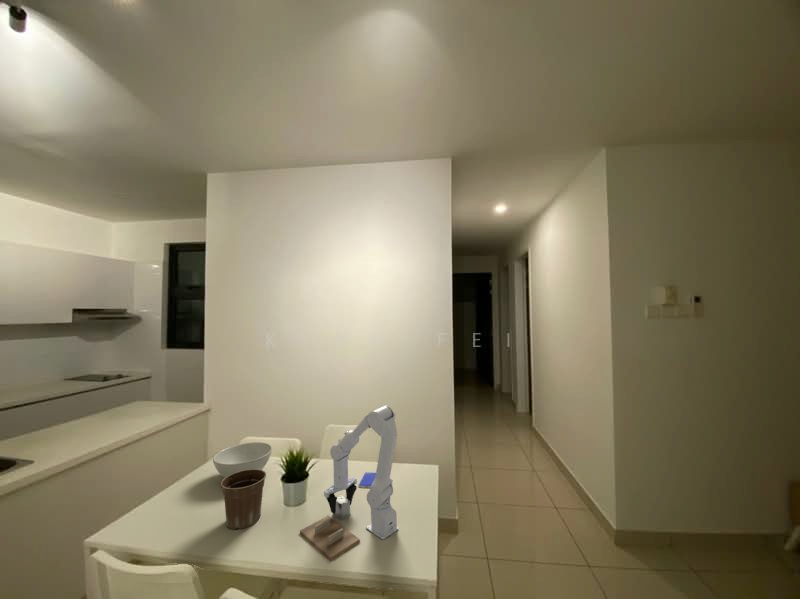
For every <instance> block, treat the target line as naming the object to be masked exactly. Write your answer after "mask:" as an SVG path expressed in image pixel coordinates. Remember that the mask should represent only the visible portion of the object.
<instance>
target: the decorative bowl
mask: <svg viewBox="0 0 800 599" xmlns="http://www.w3.org/2000/svg"><path fill="white" fill-rule="evenodd" d="M272 451H273V447H272V445H270V444H269V443H266V442H258V441H257V442H255V441H254V442H253V441H252V442H244V443H239V444H235V445H232V446H229V447H226V448H224V449H222V450H220V451H219V452H217V453H216V454H215V455H214V456H213V457H212V462H213V465H214V467H215V468H214V469H216V471H217V472H218V473H219V474H220V476H222V478H223V479H224V478H226V477H227V476H229V475H231V474H233V473H236V472H239V471H243V470H248V469H259V470H263V469H264V468H265V466H266V465H267V463H268V462H269V460H270V457H271V455H272Z"/></svg>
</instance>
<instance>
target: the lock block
mask: <svg viewBox="0 0 800 599" xmlns="http://www.w3.org/2000/svg"><path fill="white" fill-rule="evenodd" d="M336 497H337V500H336V512H335V514H333V516H335V517H336V518H338V519H340V521H343V520H345V519H347V518H348V517H350V516H351V505H350V500H349V499H347V498H346V496H344V495H342V494H340V495H337V496H336Z"/></svg>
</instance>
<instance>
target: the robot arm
mask: <svg viewBox="0 0 800 599" xmlns="http://www.w3.org/2000/svg"><path fill="white" fill-rule="evenodd" d="M395 419H396V414H395V412H394V411H393V409H392V408H391V407H390V405H381V407H379V408H377V409H374V410H372V411H370V412H369V413H368V414H366V415H365V416H364V417H363V419H362V420H361V421H360V422H359V423H358V424H357V426H356V427H355V428H354V429H353V430H347V431H346V432H344V436H343V437H341V438H339V439H338V440H337V441H338V443H337V444H332V446H331V448H330V452H329V454H330V456H331V458H332V460H333V462H332V463H333V484H332V485H331V486H329V487H328V488H327V489H326V490H324V491H323V496H324V497H325V499H326V500H327V503H328V505H329V507H330V508H329V509H330V512H331V513H332V514H333V515H334V514H335V512H336V500H337V496H336V495H335V493H339V492H341V491H345V495H346V496H345V497H346V498H347V499H349V500H350V506H352V503H353V498H354V495H355V493H356V490H357V488H358V485H357V484H358V479H357V478H356V477H351V478H349V461H348V460H349V458H350V457H349V456H350V454H351V452H352V450H353V448H354V447H356V446H357V445H358V443H359V442H360V437H361V436H362V435H363V434H364V433H365V432H366V431H367V430H368V429H372V431H374V432H375V433H376V434H377V435H378V436H379V437H381V441H380V442H381V443H380V446H379V453H378V459H377V465H376V470H375V471H376V472H375V473H376V476H375V479H374V481H373V483H372V485H371V487H370V488H369V491H368V492H367V494H366V501H367V504H368V505H369V507H370V517H371V518H370V523H369V524H368V525H367V526H366V527H365V528H366V530H368V531H369V532H371V533H372V534H374V535H375V536H377V537H378V538H380V539H381V540H385V539H387V538H388V537H389V536H390V535H393V533H395V532H396V531H398V530H399V527H398V526H397V522H398V521H397V511H396V510H395V509H394V507H393V506H392V504H391V497H392V495H393V493H394V486H393V481H394V480H393V479H392V478H391V473H392V472H391V471H392V467H393V462H394V456H395V455H394V454H395V449H396V444H397V440H398V439H397V438H398V430H397V426H396V421H395Z"/></svg>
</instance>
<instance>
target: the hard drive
mask: <svg viewBox="0 0 800 599" xmlns="http://www.w3.org/2000/svg"><path fill="white" fill-rule="evenodd" d="M375 476H376V472H367V471H366V472H365V473H363V476H362V478H361V480H360V482H359V484H358V485H357V488H363V489H364V488H365V489H370V487H371V485H372V483H373V481H374V479H375Z"/></svg>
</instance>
